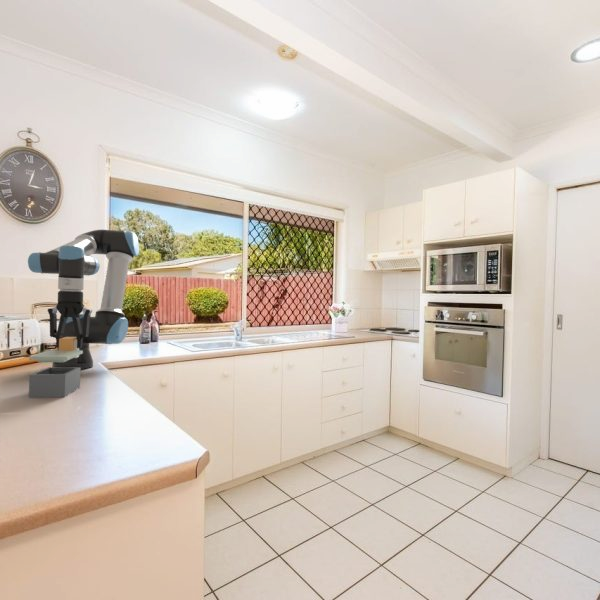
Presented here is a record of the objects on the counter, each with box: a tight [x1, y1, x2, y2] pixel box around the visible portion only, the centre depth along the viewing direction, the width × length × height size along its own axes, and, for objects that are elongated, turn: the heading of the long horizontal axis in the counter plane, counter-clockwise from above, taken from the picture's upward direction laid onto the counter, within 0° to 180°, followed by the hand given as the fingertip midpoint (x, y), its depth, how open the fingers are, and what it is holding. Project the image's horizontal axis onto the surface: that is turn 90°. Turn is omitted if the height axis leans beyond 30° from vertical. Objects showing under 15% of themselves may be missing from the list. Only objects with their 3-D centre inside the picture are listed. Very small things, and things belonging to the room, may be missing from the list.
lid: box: [28, 337, 83, 363], centre depth 122 cm, size 18×11×6 cm, turn 11°
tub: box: [28, 366, 82, 398], centre depth 120 cm, size 12×10×7 cm
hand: (68, 357), depth 129 cm, fingers closed on lid, 4 cm apart
